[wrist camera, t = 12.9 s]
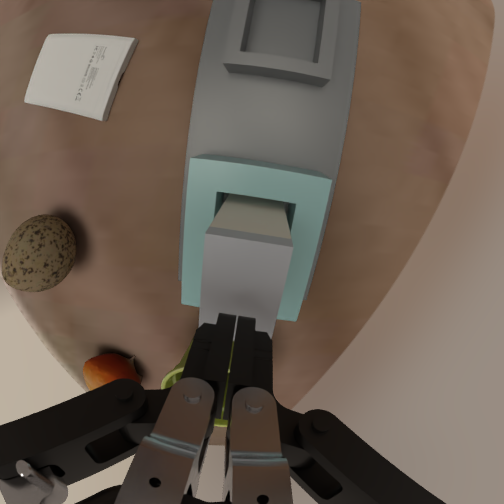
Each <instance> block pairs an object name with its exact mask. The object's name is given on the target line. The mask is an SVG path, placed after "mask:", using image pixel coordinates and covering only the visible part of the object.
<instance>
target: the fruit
mask: <svg viewBox="0 0 504 504" xmlns="http://www.w3.org/2000/svg"><path fill="white" fill-rule="evenodd" d="M135 357H136V356H135V355H134V356H133V357H132V358H131V359H128V358H125V357H123V356H120V355H118V354H115V353H109V354H102V355H99V356H96V357H93V358H91V359H89V360H88V361H86V362H85V364H84V367H83V375H84V379H85V381H86V384H87V386H88V388H89V389H90V390H93V389H96V388H98V387H100V386H102V385H105V384H107V383H109V382H111V381H114V380H116V379H121V378H127V379H132V380H134V381H136V382H138V383H139V384H141V379H142V376H140V375H138V374H137V372H136V370H135V367H134V362H133V359H134V358H135Z"/></svg>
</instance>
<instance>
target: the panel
mask: <svg viewBox="0 0 504 504" xmlns="http://www.w3.org/2000/svg"><path fill="white" fill-rule="evenodd" d="M360 12H361V2H359V1H356V0H213V3H212V7H211V11H210V16H209V20H208V24H207V29H206V33H205V38H204V43H203V48H202V53H201V58H200V63H199V69H198V74H197V80H196V86H195V92H194V99H193V105H192V112H191V119H190V127H189V135H188V143H187V152H186V161H185V171H184V182H183V194H182V208H181V224H180V243H179V273H178V281H182V300H181V304H185V305H190V306H196V307H200V294H201V278H202V265H203V252H204V240H205V233H206V231H207V229H208V228H209V226H210V224H211V223H212V221H213V220H214V218H215V216H216V215H217V213H218V211H219V210H220V208H221V207H222V205H223V203H224V202H225V200H226V199H227V197H228V195H229V194H230V193H232V194H239V195H246V196H252V197H259V198H265V199H271V200H277V201H283V205H284V209H285V213H286V217H287V221H288V225H289V230H290V234H291V238H292V243H293V252H292V256H291V261H290V265H289V269H288V274H287V278H286V282H285V286H284V291H283V295H282V299H281V303H280V307H279V311H278V315H277V319H280V320H288V321H297V317H298V314H299V311H300V307H301V304H302V300H306V299H307V296H308V292H309V289H310V285H311V282H312V278H313V275H314V271H315V267H316V264H317V260H318V256H319V252H320V248H321V245H322V241H323V237H324V233H325V228H326V224H327V220H328V216H329V212H330V207H331V203H332V198H333V194H334V189H335V185H336V180H337V175H338V170H339V165H340V160H341V155H342V150H343V144H344V139H345V133H346V127H347V121H348V115H349V109H350V102H351V96H352V89H353V81H354V74H355V65H356V57H357V47H358V37H359V25H360Z"/></svg>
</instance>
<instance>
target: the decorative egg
mask: <svg viewBox="0 0 504 504" xmlns="http://www.w3.org/2000/svg"><path fill="white" fill-rule="evenodd" d="M75 257H76V241H75V237H74V234H73V232H72V230H71V229H70V227H69V226H68V225H67V224H66V223H65V222H64V221H63V220H62V219H60V218H58V217H56V216H52V215H38V216H35V217H32V218H30V219H28V220H27V221H25V222H24V223H22V224H21V225H20V226H19V227H18V228H17V229H16V231H15V232H14V233H13V235H12V236H11V238H10V240H9V242H8V244H7V247H6V249H5V252H4V256H3V262H2V275H3V278H4V280H5V282H6V283H7V284H8V285H9V286H11V287H13V288H15V289H18V290H21V291H26V292H40V291H44V290H48V289H50V288H53V287H54V286H56V285H57V284H59V283H60V282H61V281H62V280H63V279H64V278H65V277H66V276H67V275H68V273H69V272H70V270H71V268H72V266H73V264H74V261H75Z"/></svg>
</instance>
